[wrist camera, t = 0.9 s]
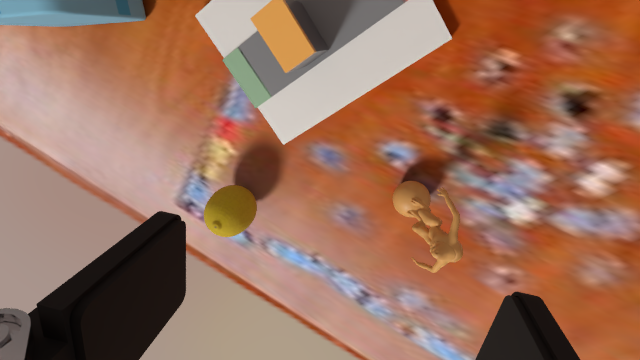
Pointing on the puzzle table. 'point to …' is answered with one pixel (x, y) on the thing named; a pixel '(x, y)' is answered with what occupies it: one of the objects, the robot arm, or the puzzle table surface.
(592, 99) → the puzzle table surface
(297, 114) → the panel
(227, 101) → the puzzle table surface
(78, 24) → the data package
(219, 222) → the lemon
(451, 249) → the figurine
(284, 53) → the toggle
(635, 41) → the puzzle table surface
